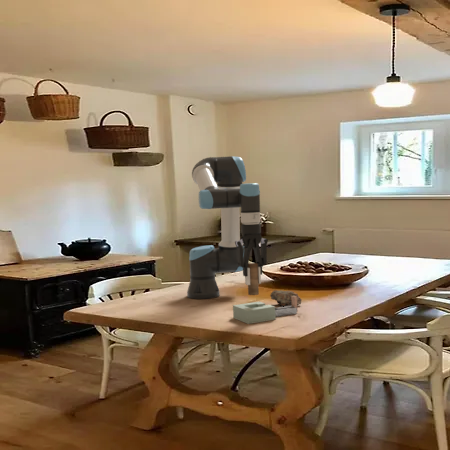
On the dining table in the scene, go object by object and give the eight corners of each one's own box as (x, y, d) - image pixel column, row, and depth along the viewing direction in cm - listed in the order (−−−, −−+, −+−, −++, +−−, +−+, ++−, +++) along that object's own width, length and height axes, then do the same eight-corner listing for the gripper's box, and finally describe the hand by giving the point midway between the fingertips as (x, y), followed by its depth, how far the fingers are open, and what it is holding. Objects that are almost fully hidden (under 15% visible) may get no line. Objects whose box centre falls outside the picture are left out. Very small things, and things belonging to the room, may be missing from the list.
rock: (268, 290, 264) (276, 291, 255) (292, 288, 267) (302, 288, 258) (269, 307, 264) (278, 308, 254) (294, 304, 267) (303, 305, 257)
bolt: (275, 313, 244) (274, 298, 244) (294, 310, 248) (293, 295, 247) (278, 314, 242) (277, 299, 242) (297, 311, 246) (296, 296, 246)
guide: (264, 315, 243) (264, 309, 243) (290, 311, 249) (289, 305, 248) (270, 317, 239) (270, 311, 239) (296, 313, 244) (296, 307, 244)
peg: (246, 294, 238) (245, 263, 238) (255, 292, 240) (254, 262, 239) (251, 295, 235) (250, 264, 234) (260, 294, 237) (259, 263, 236)
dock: (233, 317, 241) (232, 305, 241) (259, 313, 247) (259, 301, 246) (248, 323, 230) (247, 310, 230) (275, 319, 236) (275, 306, 235)
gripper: (235, 225, 229) (238, 287, 230) (275, 222, 236) (277, 282, 238) (226, 224, 235) (229, 285, 237) (265, 221, 243) (267, 280, 244)
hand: (253, 283), depth 237 cm, fingers closed on peg, 4 cm apart
